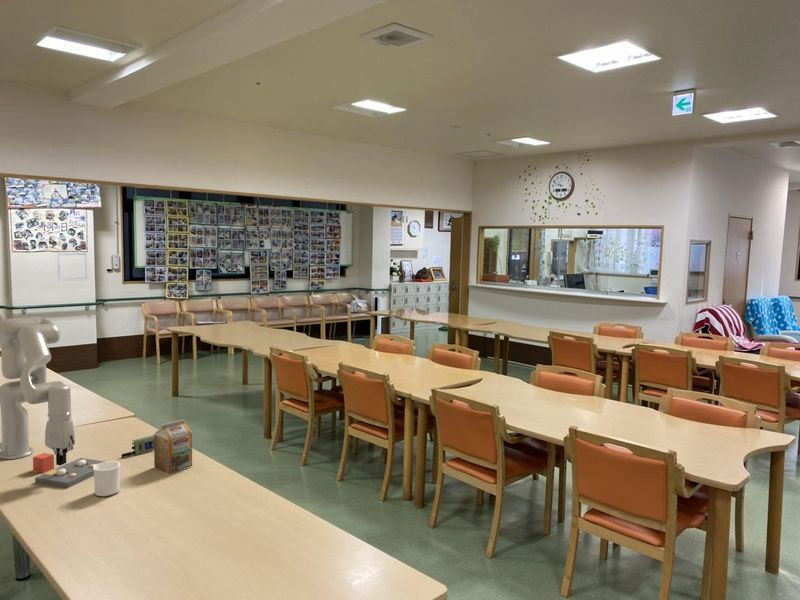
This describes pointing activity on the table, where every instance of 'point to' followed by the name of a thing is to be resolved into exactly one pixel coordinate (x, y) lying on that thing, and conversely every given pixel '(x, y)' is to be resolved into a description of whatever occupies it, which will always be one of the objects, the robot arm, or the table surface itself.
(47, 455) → the cap
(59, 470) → the cream egg in tray
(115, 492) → the mug
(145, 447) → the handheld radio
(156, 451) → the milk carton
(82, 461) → the white egg
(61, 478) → the panel
